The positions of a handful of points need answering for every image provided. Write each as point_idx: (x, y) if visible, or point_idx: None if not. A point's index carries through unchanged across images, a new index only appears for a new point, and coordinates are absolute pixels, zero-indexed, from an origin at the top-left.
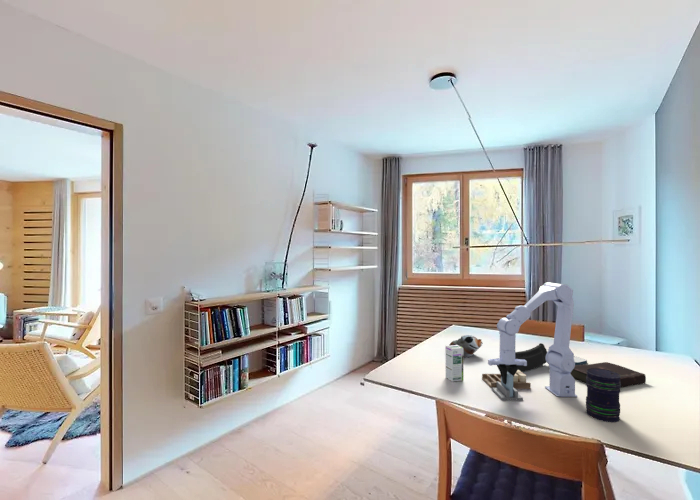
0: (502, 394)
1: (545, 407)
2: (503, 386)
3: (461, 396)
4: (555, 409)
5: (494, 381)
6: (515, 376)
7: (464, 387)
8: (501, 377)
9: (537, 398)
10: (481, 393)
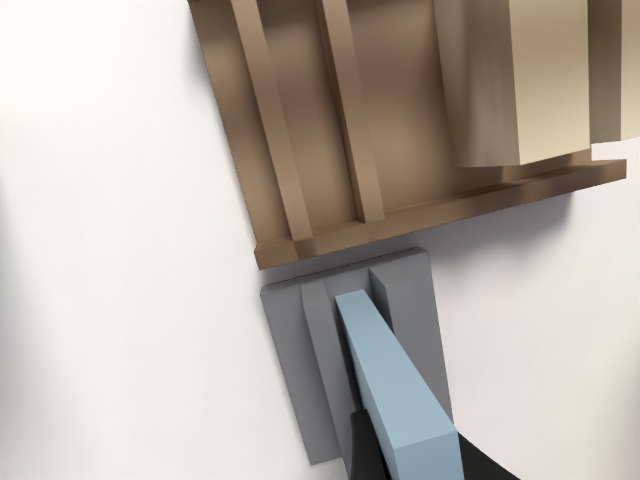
0: (324, 412)
1: (537, 461)
2: (347, 417)
3: (22, 475)
4: (579, 468)
5: (292, 219)
6: (548, 155)
7: (20, 294)
8: (359, 364)
9: (548, 349)
10: (174, 378)
